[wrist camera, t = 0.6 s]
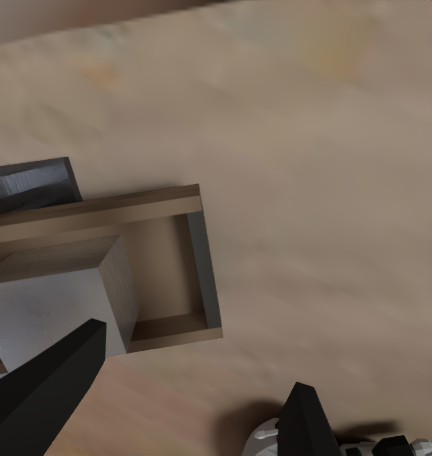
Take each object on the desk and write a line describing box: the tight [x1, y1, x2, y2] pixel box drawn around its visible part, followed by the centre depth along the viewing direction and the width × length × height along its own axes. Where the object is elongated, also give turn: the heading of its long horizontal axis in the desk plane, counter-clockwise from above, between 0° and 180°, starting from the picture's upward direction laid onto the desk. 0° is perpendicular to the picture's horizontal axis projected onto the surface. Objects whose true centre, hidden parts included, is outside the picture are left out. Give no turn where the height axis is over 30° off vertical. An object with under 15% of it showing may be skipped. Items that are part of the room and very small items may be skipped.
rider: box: [0, 235, 141, 373], centre depth 15 cm, size 7×5×5 cm
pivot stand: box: [0, 157, 83, 214], centre depth 19 cm, size 7×14×6 cm, turn 9°
